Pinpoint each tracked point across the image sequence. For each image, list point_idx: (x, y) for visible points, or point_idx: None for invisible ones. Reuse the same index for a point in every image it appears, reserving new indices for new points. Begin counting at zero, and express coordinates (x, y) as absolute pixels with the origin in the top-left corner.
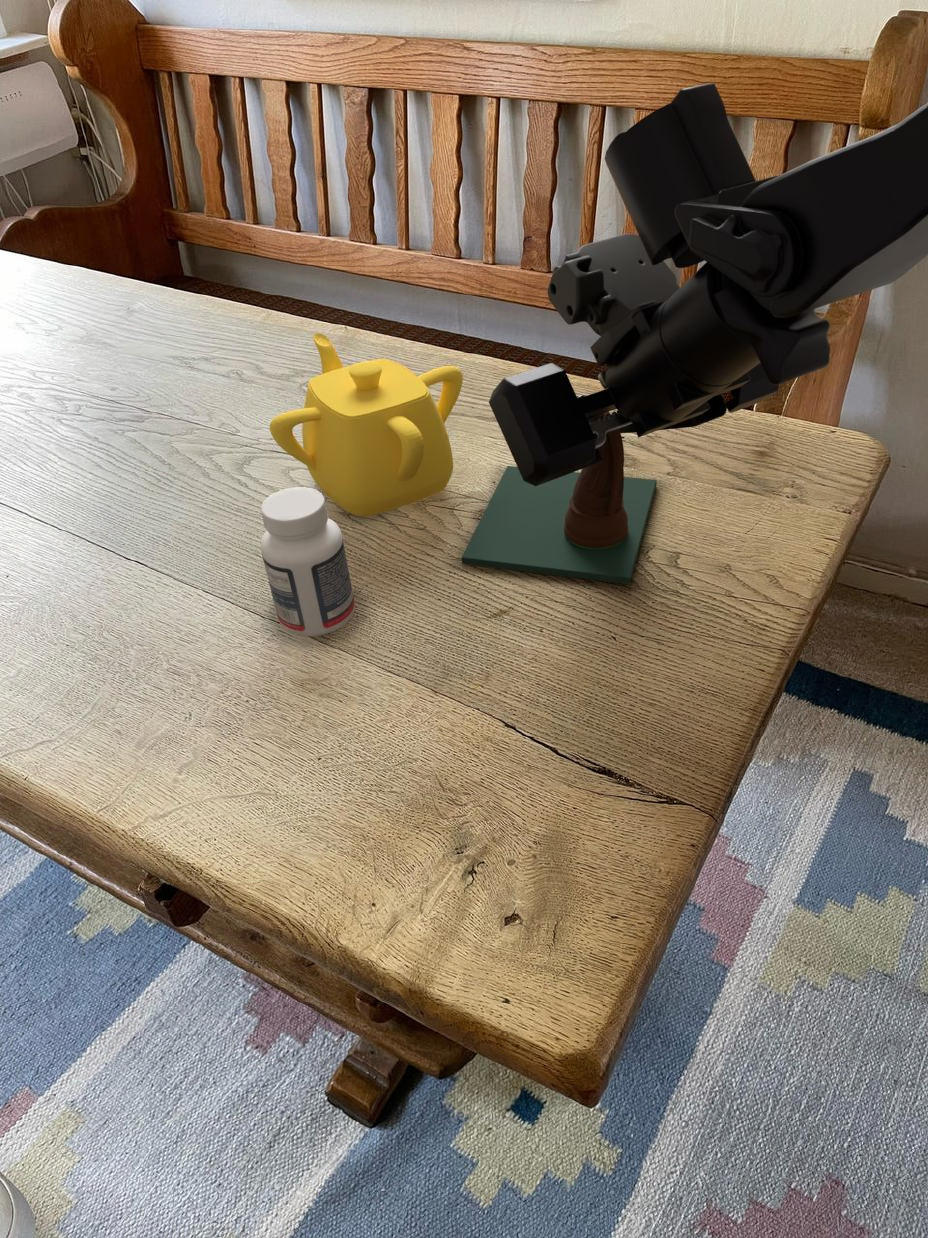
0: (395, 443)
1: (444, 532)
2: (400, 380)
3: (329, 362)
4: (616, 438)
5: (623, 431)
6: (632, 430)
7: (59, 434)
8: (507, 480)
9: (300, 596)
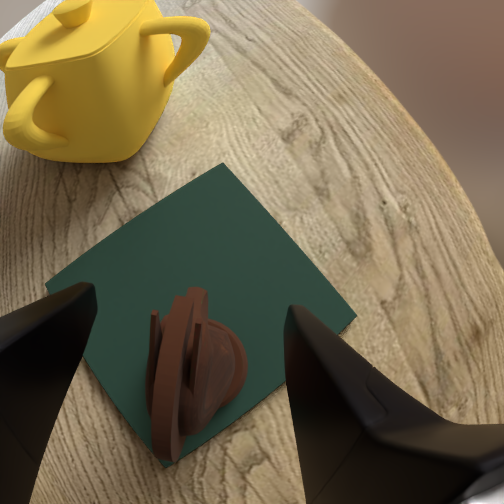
0: (42, 107)
1: (79, 221)
2: (108, 22)
3: None
4: (155, 456)
5: (284, 343)
6: (285, 377)
7: (53, 4)
8: (198, 186)
9: None
